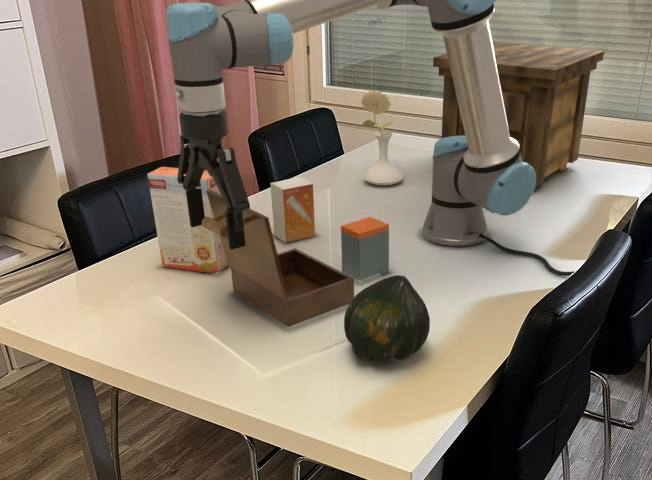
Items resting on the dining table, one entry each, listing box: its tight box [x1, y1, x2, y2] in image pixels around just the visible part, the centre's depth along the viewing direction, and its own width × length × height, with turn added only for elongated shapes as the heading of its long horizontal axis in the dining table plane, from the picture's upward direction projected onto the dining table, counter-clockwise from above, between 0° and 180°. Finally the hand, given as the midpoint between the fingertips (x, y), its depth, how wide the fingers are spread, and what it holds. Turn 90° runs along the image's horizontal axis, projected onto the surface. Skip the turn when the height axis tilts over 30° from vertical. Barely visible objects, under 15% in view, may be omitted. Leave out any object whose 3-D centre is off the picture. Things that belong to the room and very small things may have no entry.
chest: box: [230, 248, 355, 327], centre depth 142 cm, size 16×20×6 cm
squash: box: [343, 274, 431, 365], centre depth 123 cm, size 14×15×15 cm
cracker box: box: [146, 166, 229, 275], centre depth 153 cm, size 14×6×21 cm, turn 71°
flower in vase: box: [360, 90, 404, 186], centre depth 201 cm, size 13×11×25 cm
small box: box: [269, 176, 316, 244], centre depth 169 cm, size 8×6×13 cm
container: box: [340, 216, 390, 281], centre depth 151 cm, size 8×6×11 cm
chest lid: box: [202, 189, 288, 301], centre depth 130 cm, size 16×20×6 cm
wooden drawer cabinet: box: [432, 40, 605, 190], centre depth 207 cm, size 35×35×33 cm
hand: (217, 235), depth 127 cm, fingers open, 13 cm apart
